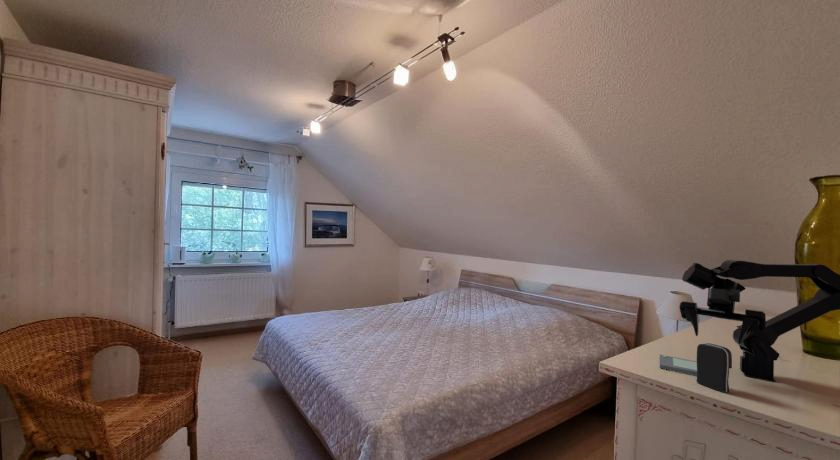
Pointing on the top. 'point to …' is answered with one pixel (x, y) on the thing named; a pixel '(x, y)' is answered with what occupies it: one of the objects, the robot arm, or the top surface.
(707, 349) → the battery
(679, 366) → the charging pad
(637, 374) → the top surface
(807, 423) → the top surface
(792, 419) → the top surface
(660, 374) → the top surface
